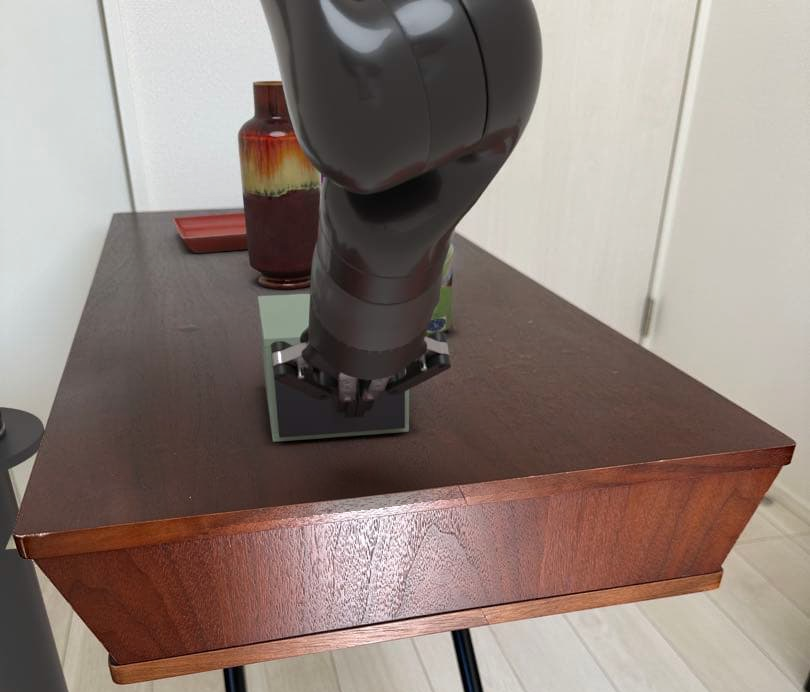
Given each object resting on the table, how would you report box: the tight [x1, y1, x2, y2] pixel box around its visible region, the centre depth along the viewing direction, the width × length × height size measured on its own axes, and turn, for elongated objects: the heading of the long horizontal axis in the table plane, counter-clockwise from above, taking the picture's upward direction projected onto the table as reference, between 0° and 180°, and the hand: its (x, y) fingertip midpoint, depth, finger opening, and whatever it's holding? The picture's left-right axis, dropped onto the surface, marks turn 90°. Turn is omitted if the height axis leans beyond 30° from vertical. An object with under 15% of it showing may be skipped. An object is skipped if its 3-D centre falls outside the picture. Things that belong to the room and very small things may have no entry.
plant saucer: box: [172, 212, 248, 254], centre depth 147 cm, size 18×18×3 cm
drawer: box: [274, 369, 405, 437], centre depth 78 cm, size 14×11×8 cm
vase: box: [237, 80, 321, 290], centre depth 118 cm, size 11×11×26 cm
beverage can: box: [426, 243, 455, 337], centre depth 101 cm, size 6×7×12 cm
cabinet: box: [257, 293, 410, 443], centre depth 80 cm, size 14×13×10 cm
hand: (352, 406), depth 67 cm, fingers closed
